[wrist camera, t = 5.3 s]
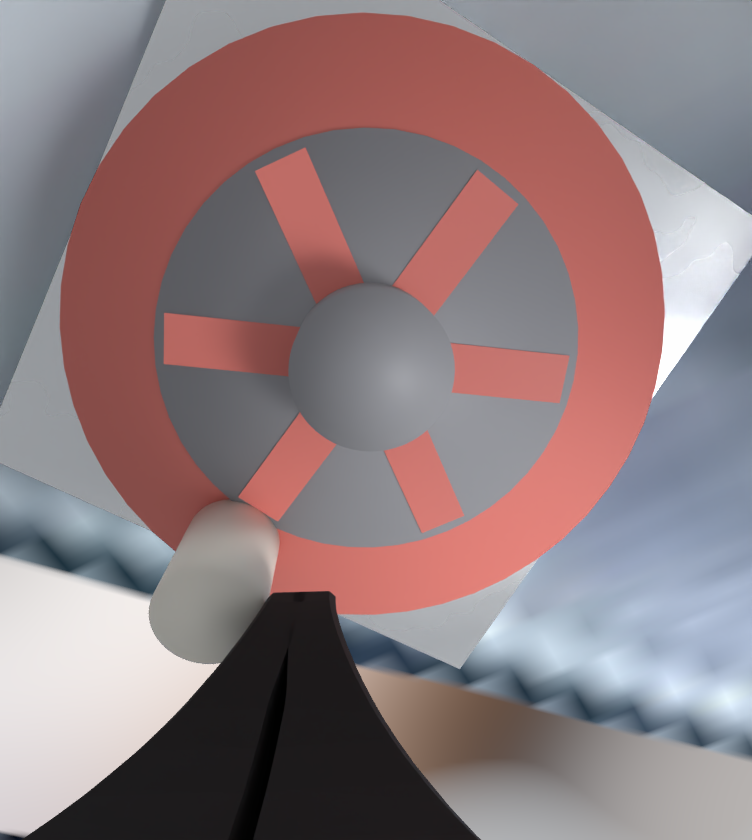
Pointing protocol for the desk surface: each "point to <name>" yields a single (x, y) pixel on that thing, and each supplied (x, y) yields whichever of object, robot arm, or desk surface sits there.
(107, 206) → the handwheel
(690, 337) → the wheel plate
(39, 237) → the desk surface
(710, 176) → the desk surface
